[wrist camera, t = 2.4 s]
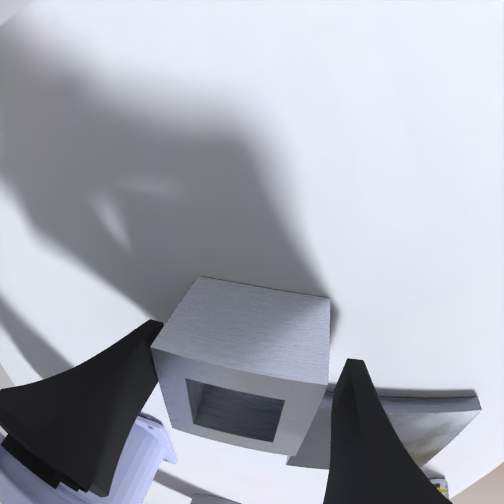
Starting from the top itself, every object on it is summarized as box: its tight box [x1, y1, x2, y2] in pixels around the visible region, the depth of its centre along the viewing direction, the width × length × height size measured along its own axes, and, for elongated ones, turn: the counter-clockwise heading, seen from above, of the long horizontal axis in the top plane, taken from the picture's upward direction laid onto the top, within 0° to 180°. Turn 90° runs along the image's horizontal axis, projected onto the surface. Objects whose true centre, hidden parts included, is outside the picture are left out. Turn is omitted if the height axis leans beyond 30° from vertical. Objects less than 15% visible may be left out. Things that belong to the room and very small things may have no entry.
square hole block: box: [150, 276, 330, 456], centre depth 10 cm, size 5×5×4 cm
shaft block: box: [286, 392, 482, 469], centre depth 12 cm, size 10×8×5 cm
